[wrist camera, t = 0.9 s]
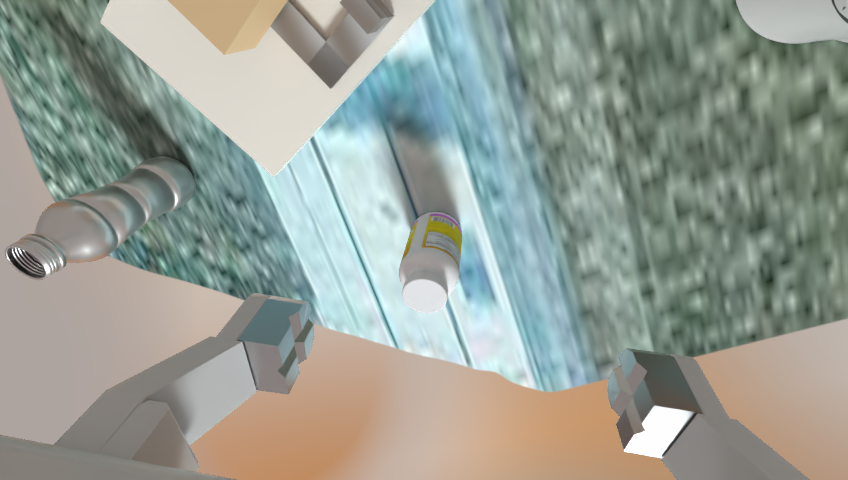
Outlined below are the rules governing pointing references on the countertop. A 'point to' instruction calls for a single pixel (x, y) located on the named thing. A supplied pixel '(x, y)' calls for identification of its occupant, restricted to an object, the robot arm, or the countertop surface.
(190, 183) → the plastic bottle
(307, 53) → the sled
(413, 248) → the supplement bottle
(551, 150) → the countertop surface
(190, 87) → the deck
